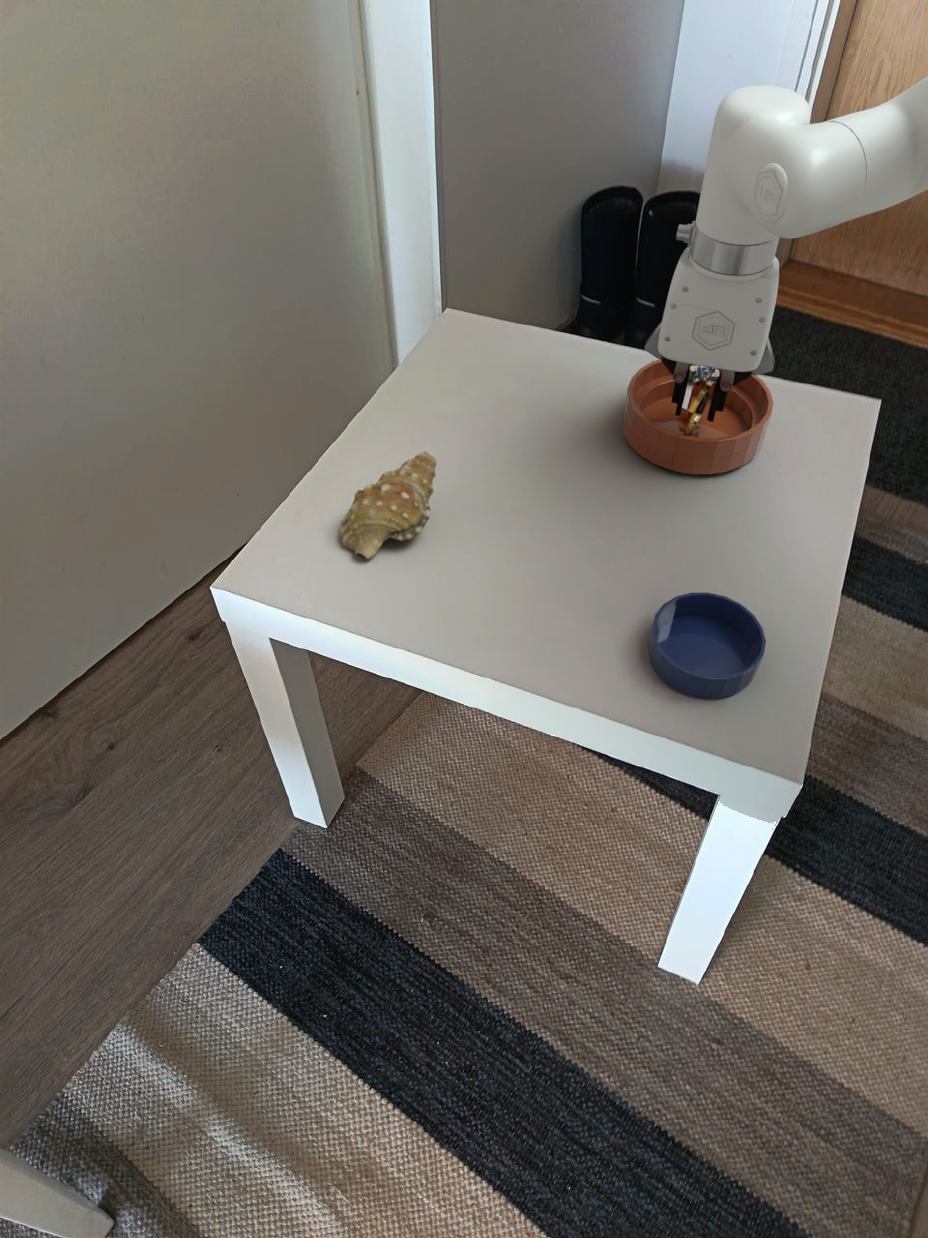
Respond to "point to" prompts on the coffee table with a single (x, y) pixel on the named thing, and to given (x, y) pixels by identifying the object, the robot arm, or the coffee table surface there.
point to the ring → (700, 404)
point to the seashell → (390, 507)
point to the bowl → (710, 442)
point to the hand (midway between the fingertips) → (696, 409)
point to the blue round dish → (705, 645)
